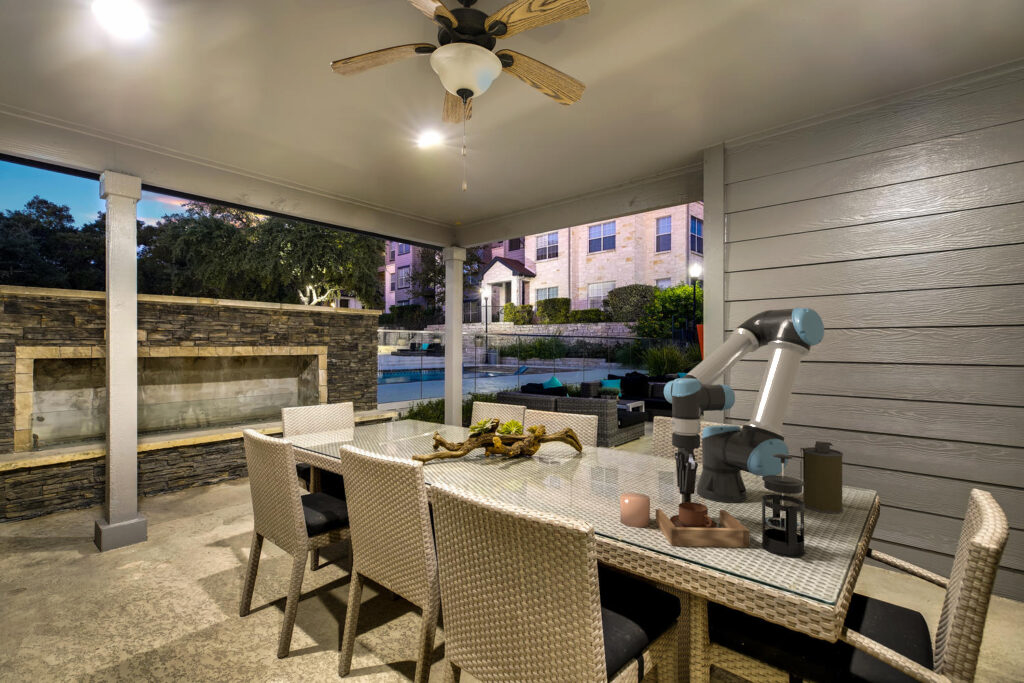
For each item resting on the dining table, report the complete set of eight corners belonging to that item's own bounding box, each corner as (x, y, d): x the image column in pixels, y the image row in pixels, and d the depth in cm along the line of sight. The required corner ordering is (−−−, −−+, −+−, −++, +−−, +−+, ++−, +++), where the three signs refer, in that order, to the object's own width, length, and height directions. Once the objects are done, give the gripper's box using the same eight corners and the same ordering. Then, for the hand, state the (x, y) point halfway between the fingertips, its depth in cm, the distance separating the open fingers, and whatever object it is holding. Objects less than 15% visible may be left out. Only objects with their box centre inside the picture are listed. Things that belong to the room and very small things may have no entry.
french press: (755, 538, 122) (755, 449, 122) (795, 541, 120) (795, 450, 120) (771, 559, 110) (770, 460, 111) (815, 562, 109) (815, 462, 109)
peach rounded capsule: (645, 517, 137) (645, 493, 137) (653, 527, 129) (653, 502, 129) (617, 516, 137) (618, 492, 137) (623, 527, 129) (623, 501, 129)
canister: (839, 504, 148) (839, 440, 148) (846, 515, 139) (846, 447, 139) (798, 500, 153) (798, 437, 153) (803, 510, 143) (803, 443, 143)
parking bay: (724, 524, 131) (724, 510, 132) (749, 546, 117) (749, 530, 117) (655, 523, 132) (655, 509, 132) (671, 545, 118) (671, 529, 118)
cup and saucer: (724, 529, 128) (724, 506, 128) (706, 542, 120) (706, 517, 120) (681, 517, 137) (681, 496, 137) (661, 529, 128) (661, 506, 128)
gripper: (666, 428, 142) (665, 507, 142) (679, 437, 129) (679, 524, 129) (691, 429, 141) (691, 508, 141) (707, 437, 128) (707, 524, 128)
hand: (685, 515), depth 135 cm, fingers closed
